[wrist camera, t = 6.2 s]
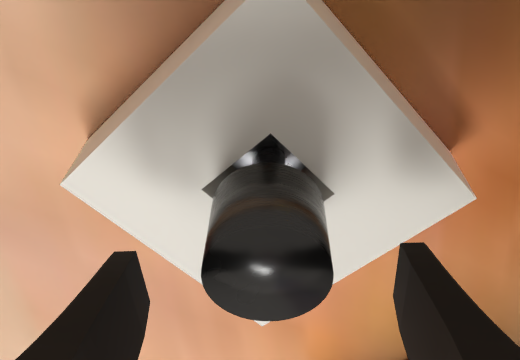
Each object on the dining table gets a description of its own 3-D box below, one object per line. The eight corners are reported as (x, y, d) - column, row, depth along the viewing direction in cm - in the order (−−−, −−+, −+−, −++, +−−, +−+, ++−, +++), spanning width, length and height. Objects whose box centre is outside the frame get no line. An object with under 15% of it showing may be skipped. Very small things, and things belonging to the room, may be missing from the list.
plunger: (334, 149, 19) (360, 281, 13) (266, 200, 20) (264, 337, 15) (271, 86, 17) (270, 204, 12) (202, 145, 19) (173, 274, 13)
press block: (450, 151, 19) (477, 198, 16) (263, 274, 23) (262, 326, 20) (276, -53, 15) (277, -32, 12) (87, 139, 19) (59, 185, 16)
